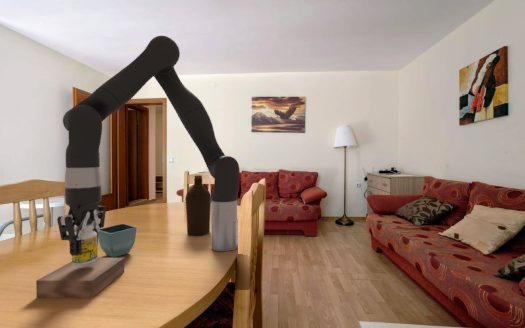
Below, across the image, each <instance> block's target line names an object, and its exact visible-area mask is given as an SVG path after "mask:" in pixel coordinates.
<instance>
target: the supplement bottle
mask: <svg viewBox="0 0 525 328" xmlns="http://www.w3.org/2000/svg"><path fill="white" fill-rule="evenodd" d="M75 227H80V226H76V225H75ZM93 228H94V225H93V223H88V224H87V225H86V228H85V230H84V231H83V232H82V236H81V239H80V240H81V254H80V255H78V256H72V255H71V262H72V264H73V265H77V266H79V265H86V264H90V263H92V262H94V261H96V260H97V258H99V254H98V245H97V233H96V232H95V231H93ZM76 234H77V230H76V231H75V235H76Z"/></svg>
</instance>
